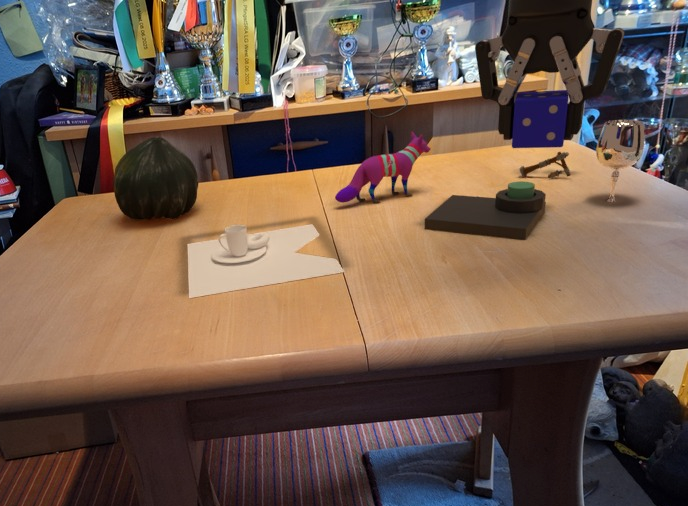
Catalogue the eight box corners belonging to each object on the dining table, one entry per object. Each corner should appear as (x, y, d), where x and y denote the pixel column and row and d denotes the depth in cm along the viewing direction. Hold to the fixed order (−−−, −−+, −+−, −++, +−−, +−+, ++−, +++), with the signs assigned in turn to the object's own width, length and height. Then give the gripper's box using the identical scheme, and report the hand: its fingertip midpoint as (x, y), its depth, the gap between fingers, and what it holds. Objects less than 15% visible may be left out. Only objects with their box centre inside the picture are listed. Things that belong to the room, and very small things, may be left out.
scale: (546, 212, 83) (549, 189, 82) (527, 240, 75) (529, 215, 73) (452, 204, 91) (453, 183, 89) (424, 229, 82) (424, 206, 81)
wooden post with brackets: (575, 174, 95) (566, 150, 94) (527, 191, 100) (518, 167, 99) (576, 171, 97) (567, 147, 96) (529, 188, 102) (521, 165, 101)
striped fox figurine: (435, 192, 98) (436, 132, 93) (340, 212, 93) (336, 149, 89) (424, 187, 101) (425, 129, 96) (332, 206, 97) (327, 145, 92)
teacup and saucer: (268, 240, 85) (264, 214, 83) (276, 259, 78) (272, 231, 76) (210, 249, 84) (206, 223, 82) (213, 269, 77) (208, 242, 75)
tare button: (536, 193, 82) (537, 182, 81) (530, 201, 79) (531, 189, 78) (510, 192, 84) (511, 180, 83) (504, 199, 81) (504, 187, 80)
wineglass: (589, 212, 81) (602, 127, 76) (587, 200, 86) (598, 119, 81) (635, 213, 79) (651, 126, 74) (630, 200, 84) (644, 118, 79)
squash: (112, 181, 106) (100, 128, 93) (190, 171, 110) (190, 118, 97) (125, 246, 101) (114, 199, 88) (206, 232, 105) (208, 185, 92)
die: (562, 137, 62) (568, 89, 60) (563, 147, 58) (568, 97, 56) (514, 138, 64) (517, 92, 62) (511, 148, 60) (514, 99, 58)
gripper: (644, -53, 52) (616, 131, 60) (487, -30, 60) (480, 131, 67) (637, -56, 47) (608, 148, 55) (466, -30, 54) (461, 145, 62)
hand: (537, 138), depth 61 cm, fingers closed on die, 5 cm apart
